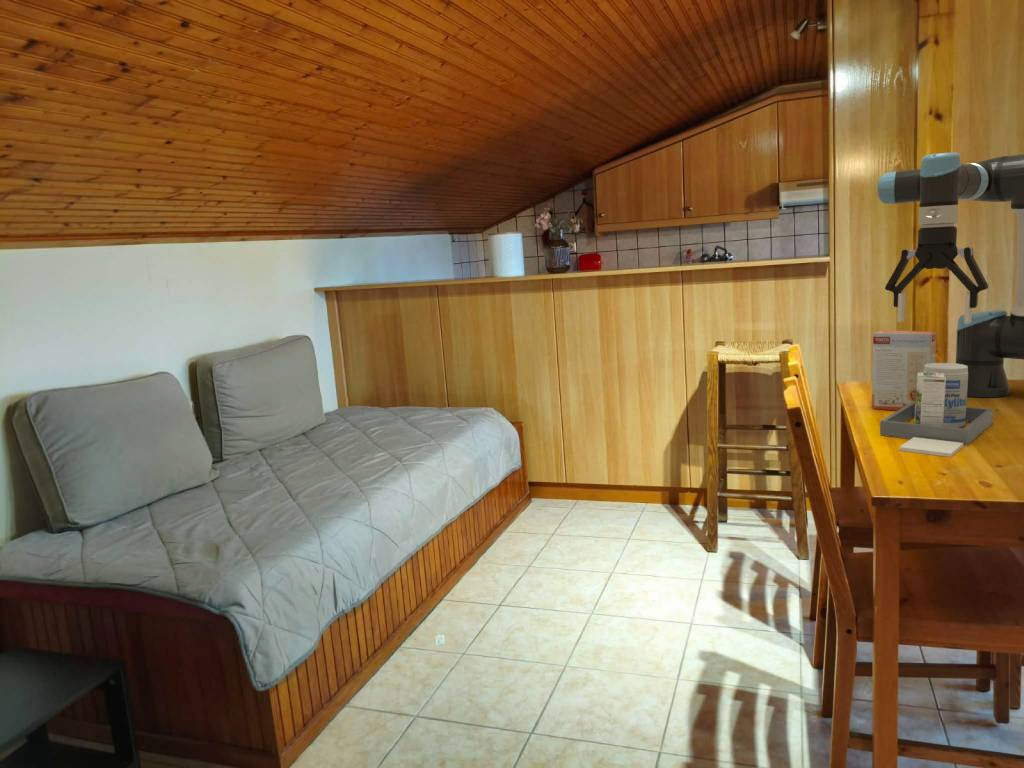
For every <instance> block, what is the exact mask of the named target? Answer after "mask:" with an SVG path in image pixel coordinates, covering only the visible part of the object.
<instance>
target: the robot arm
mask: <svg viewBox="0 0 1024 768" xmlns="http://www.w3.org/2000/svg"><path fill="white" fill-rule="evenodd" d="M877 196H878V198H879V201H880V202H881V203H883V204H885V205H886V204H887V205H889V204H893V205H895V204H896V205H898V204H906V203H917V202H919V207H918V225H919V226H921V227H920V228H919V229H918V230H917V247H916V250H915V249H914V250H912V249H909V248H907V249H902V251H901V256H900V260H899V261H898V263H897V265H896V267H895V268H894V271H893V272H892V274H891V276H890V278H889V279H888V281H887V283H886V284H885V288H884V289H885V290H886V291H888V292H892V293H893V304H892V305H893V307H894V308H897V318H896V319H897V321H896V322H897V323H902V322H905V321H906V320H905V318H906V317H905V316H906V296H907V295H906V293H907V292H903V291H904V289H905V288H906V287H907V286H908V285H910V284H911V282H912V281H913V280H914V279H915V278H916V276H918V275H919V274H920V273H921V271H923V270H924V269H927V270H932V269H940V270H943V269H946V268H947V270H949V271H951V273H952V274H953V275H954V276H955V277H956V278H957V279H958V281H959V282H960V283H961V284H962V285H963V286H964V287H965V288H966V289H967V291H969V292H966V293H965V299H964V300H965V301H964V314H962V315H960V316H959V318H958V319H957V328H956V346H955V347H956V348H955V349H956V350H955V364H962V365H966V366H968V386H967V397H969V396H970V397H971V398H999V397H1005V396H1008V395H1009V394H1010V389H1011V387H1010V383H1009V380H1008V376H1007V373H1006V371H1005V368H1004V364H1005V363H1004V362H1005V359H1012V360H1013V359H1014V360H1024V153H1022V154H1014V155H1003V156H997V157H994V158H993V157H992V158H988V159H984V160H981V161H976V162H970V163H969V162H968V163H962V162H961V155H960V154H959V152H943V153H942V152H941V153H940V152H939V153H933V154H932V153H931V154H926V155H925V156H923V157H922V159H921V163H920V168H917V169H909V170H908V169H906V170H900V171H898V170H895V171H892V172H886V173H884V174H882V175H881V176H880V178H879V180H878V183H877ZM959 201H964V202H968V201H969V202H970V201H973V202H975V201H976V202H989V203H1003V202H1008V203H1009V202H1010V211H1012V212H1013V213H1014V214H1016V216H1017V248H1016V249H1017V252H1016V253H1017V257H1016V258H1017V263H1016V264H1017V265H1016V266H1017V267H1016V269H1017V271H1016V272H1017V274H1016V275H1017V279H1016V280H1017V283H1016V286H1017V287H1016V289H1017V290H1016V300H1017V301H1016V305H1015V307H1013V308H1012V309H1011V310H1010V315H1008V313H1007V310H1006V309H998V310H987V311H976V312H973V311H972V310H973V309H976V308H977V307H978V300H979V299H978V298H979V293H980V292H981V291H985V290H987V289H988V288H989V283H988V282H987V281H986V279H985V277H984V275H983V273H982V270H981V269H980V267H979V265H978V263H977V261H976V260H975V257H974V248H973V247H972V246H967V247H965V248H958V246H957V239H958V238H957V237H958V227H957V226H955V224H957V223H958V216H959V212H958V211H959ZM958 255H960V257H961V258H962V259H964V261H965V264H966V265H967V267H968V269H969V272H970V273H971V275H972V277H973V279H974V280H975V282H973V280H972V279H970V277H969V276H968V275H967V274H966V273H965V272H964V271H963V269H962V268H961V267H960V266H959V264H958V263H956V261H955V259H956V258H957V256H958ZM914 256H915V257H916V259H917V260H918V262H917V263H916V264H915V265H914V266H913V268H912V269H911V270H910V271H909V272H908V273H907V274H906V276H905V277H904V278H903V279H901V281H900V282H899V283H898V281H899V280H900V278H901V276H902V274H903V272H904V271H905V269H906V267H907V265H908V264H909V261H910V260H912V259H913V257H914ZM897 283H898V284H897ZM976 284H977V285H976Z"/></svg>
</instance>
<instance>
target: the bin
mask: <svg viewBox="0 0 1024 768" xmlns="http://www.w3.org/2000/svg"><path fill="white" fill-rule="evenodd" d="M993 416H994V408H993V409H992V408H983V407H971V406H966V420H965V421H970V422H969V424H968V425H966V426H964V428H963V427H960V428H952V427H943V426H934V425H924V424H915V423H914V422H913V423H912V422H908V421H910V420H912V419H913V418H915V402H911V403H910V404H908V405H906V406H905V407H903V408H901V409H900V410H898V411H894V412H893V413H891V414H890V415H888V416H886V417H884V418H883V419H881V420H880V421H879V422H880V427H879V428H880V429H879V435H880V434H881V435H887V436H886V437H889V436H893V437H892V438H898V437H900V439H906V438H907V439H909V440H910V439H912V438H913V437H917V438H926V439H934V440H943V441H951V442H960V443H963V446H965V445H967V446H968V445H970V444H971V443H972V442H973V441H974V440H975V439H976V438H977V437H979V436H980V435H981V434H982V433H983V432H985V431H986V428H987V427H988V426H989V427H990V426H992V425H993V418H994V417H993ZM911 418H912V419H911ZM906 421H907V422H906ZM989 427H988V428H989ZM979 434H980V435H979ZM881 435H880V436H881ZM978 435H979V436H978ZM970 442H971V443H970Z"/></svg>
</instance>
